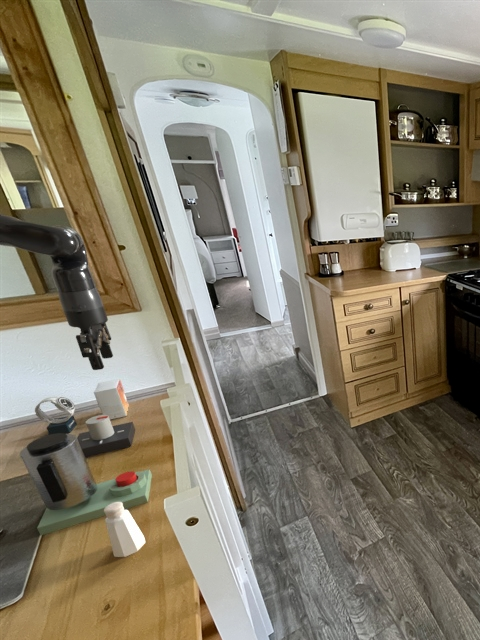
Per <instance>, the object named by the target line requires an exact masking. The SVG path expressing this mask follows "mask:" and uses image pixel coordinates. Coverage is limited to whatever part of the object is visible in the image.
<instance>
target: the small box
mask: <svg viewBox="0 0 480 640" xmlns="http://www.w3.org/2000/svg"><path fill="white" fill-rule="evenodd" d="M93 394H94V397H95V400H96V402H97V405H98V408H99V410H100V412H101V415H108V416H109V419H110V421H111V420H115V419H119V418H124V417H127V416H128V412H129V409H128V407H129V408H130V405H129V401H128V398H127V396H126V392H125V389H124V386H123V384H122V381H121V379H113V380H107V381H101V382H98V383H97V385H96V387H95V390H94V391H93ZM127 411H128V412H127Z"/></svg>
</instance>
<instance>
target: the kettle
mask: <svg viewBox="0 0 480 640" xmlns="http://www.w3.org/2000/svg"><path fill="white" fill-rule="evenodd" d="M77 437H78V436H77V435H75V434H72V433H67V434H64V433H57V434H51V435H49V434H48V435H43V436H42V437H38V438H36V439H34V440H32V441H31V442H29V443H28V444H27V445H26V446H25V447H24V448H23V449H21V450H20V452H19V456H20V458H21V461H23V465H24V466H25V468H26V470H27V472H28V474H29V476H30V478H31V480H32V482H33V484H34V486H35V488H36V490H37V492H38V494H39V496H40V498H41V499H42V502H43V504H44V506H45V508H48V509H50V510H61V509H66V508H69V507H72V506H75V505H77V504H79V503H81V502H83V501H85V500H87V499H88V498H90V497H91V496H92V495H93V494H94V493H95V492H96V491H97V488H98V487H97V484H98V483H97V482H96V480H95V477H94V475H93V473H92V470H91V468H90V465H89V463H88V461H87V457H86V458H85V456H84V454H83V451H82V449H81V447H80V444H79V442H78V439H77Z"/></svg>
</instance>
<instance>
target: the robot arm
mask: <svg viewBox="0 0 480 640" xmlns="http://www.w3.org/2000/svg"><path fill="white" fill-rule="evenodd" d="M85 245H86V244H85V242H84V239H83V237H82V236H81V235H80V234H79V232H78V231H76V229H73V228H72V227H70V226H67V225H63V224H55V225H46V224H45V225H44V224H39V223H34V222H29V221H25V220H21V219H19V218H17V217H15V216H11V215H7V214H2V213H0V246H3V247H12V248H16V249H20V250H23V251H27V252H31V253H34V254H39V255H44V256H48V257H50V261H51V263H52V268H51V278H52V280H53V282H54V283H53V284H54V286H55V288H56V290H57V293H58V299H59V302H60V305H61V308H62V310H63V313H64V316H65V318H66V319H65V320H66V321H67V324H68V326H69V327H72V328H78V329H80V332H79V334H76V335H75V339H76V342H77V344H78V345H77V346H78V348H79V351H80V353H81V357H82V358H83V359H84V358H85V359H86V358H88V361H89V364H90V367H91V369H92V370H93V371H98V370H99V371H100V370H103V369H104V368H105V365H104V362H103V360H102V359H111V358H113V357H114V354H113V351H112V348H111V341H112V336H111V334H110V331H109V329H108V326H107V322H108V320H109V318H108V316H107V312H106V309H105V306H104V303H103V300H102V297H101V295H100V293H99V290H98V289H97V287H96V284H95V281H94V277H93V275H92V273H91V270H90V266H89V259H88V254H87V249H86V246H85Z"/></svg>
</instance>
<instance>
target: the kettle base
mask: <svg viewBox="0 0 480 640" xmlns="http://www.w3.org/2000/svg"><path fill="white" fill-rule="evenodd" d="M134 472H135V474H136V477H137V480H136V481H135V482H134V483H132V484H130V485H128V486H124V487H118V485H117V483H116V480H115V479H116V478H113V479H108V480H105V481H101V482H98V483H96V484H97V487H98V488H97V491H96V492H95V493H94V494H93V495H92V496H91V497H90V498H88V499H87V500H85V501H83V502H81V503H79V504H77V505H75V506H72V507H69V508H66V509H61V510H50V509H48V508H47V507H45V510H44V512H43V514H42V517H41V519H40V520H39V523H38V525H37V527H36V528H37V531H38V533H39V535H40V536H45V535H47V534H50V533H53V532H57V531H60V530H63V529H66V528H71V527H73V526H75V525H79V524H83V523H85V522H89V521H92V520H95V519H98V518H102V517H105V516H106V513H105V512H104V509H105V507H106V506H108V505H109V504H111V503H114V502H122V504H123V507H124V510H128V509H131V508H134V507H137V506H140V505H143V504H146V503H149V497H150V491H151V484H152V478H153V474H152V472H151V469H150V468H148V469H144V470H141V471H134Z"/></svg>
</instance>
